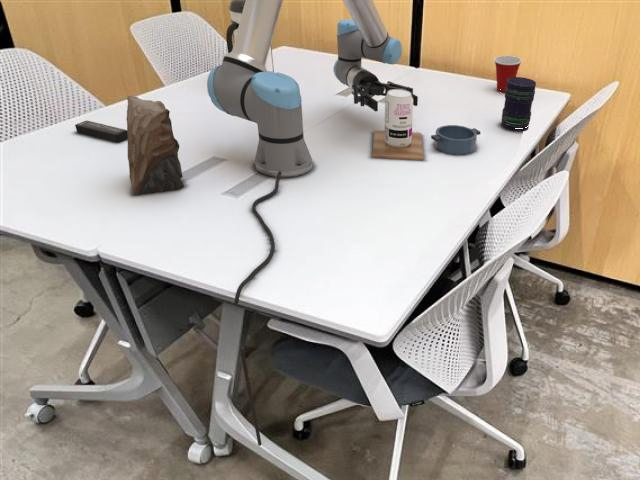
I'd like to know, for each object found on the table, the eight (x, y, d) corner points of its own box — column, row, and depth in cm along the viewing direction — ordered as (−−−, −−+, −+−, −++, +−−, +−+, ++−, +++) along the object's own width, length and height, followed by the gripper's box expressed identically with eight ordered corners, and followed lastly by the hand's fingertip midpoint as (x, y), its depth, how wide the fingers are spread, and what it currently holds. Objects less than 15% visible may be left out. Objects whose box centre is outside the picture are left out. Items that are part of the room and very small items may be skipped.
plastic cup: (485, 87, 234) (489, 55, 226) (508, 85, 238) (513, 54, 230) (498, 95, 227) (502, 63, 219) (522, 94, 231) (527, 62, 223)
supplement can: (397, 136, 183) (398, 86, 174) (416, 144, 180) (419, 94, 170) (379, 142, 178) (379, 91, 169) (398, 150, 175) (400, 99, 165)
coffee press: (232, 77, 217) (218, -16, 198) (276, 77, 221) (267, -14, 202) (233, 92, 204) (219, -6, 185) (280, 91, 209) (271, -4, 190)
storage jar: (531, 124, 204) (538, 80, 195) (526, 133, 197) (534, 88, 188) (503, 119, 206) (509, 75, 196) (497, 128, 199) (504, 82, 189)
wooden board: (423, 160, 173) (423, 157, 172) (372, 157, 171) (372, 155, 170) (420, 135, 188) (421, 132, 187) (374, 132, 186) (374, 130, 186)
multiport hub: (118, 143, 164) (116, 134, 162) (76, 132, 167) (74, 124, 165) (129, 137, 167) (127, 129, 166) (88, 128, 170) (86, 120, 169)
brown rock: (138, 173, 151) (117, 93, 138) (191, 172, 154) (174, 94, 141) (131, 195, 141) (107, 112, 129) (187, 193, 145) (169, 112, 132)
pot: (488, 150, 183) (489, 135, 180) (444, 158, 175) (445, 143, 172) (465, 135, 191) (466, 122, 188) (422, 143, 183) (423, 129, 180)
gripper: (397, 90, 193) (431, 111, 180) (328, 98, 182) (359, 121, 169) (398, 66, 189) (433, 86, 176) (326, 73, 177) (358, 95, 164)
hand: (397, 104), depth 172 cm, fingers open, 13 cm apart
